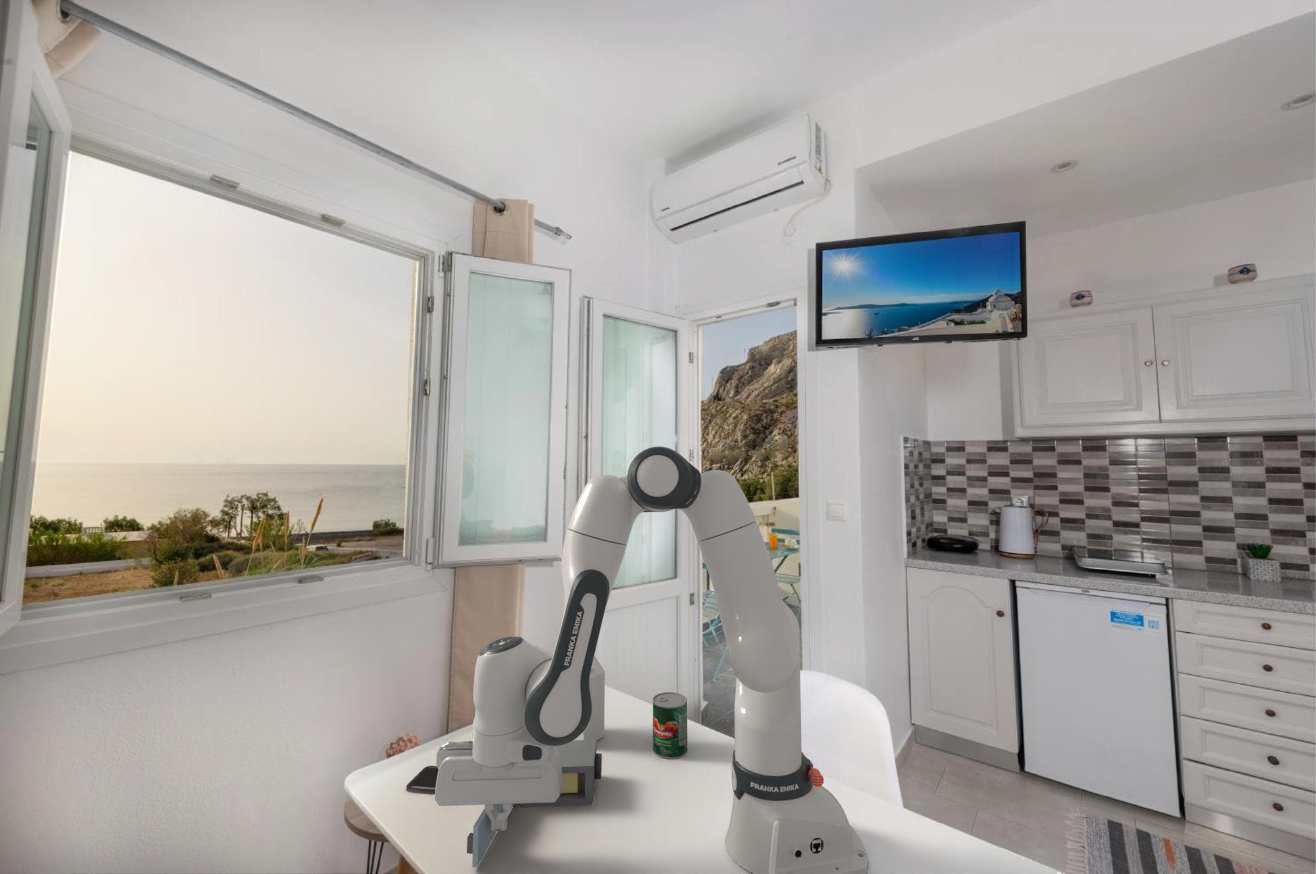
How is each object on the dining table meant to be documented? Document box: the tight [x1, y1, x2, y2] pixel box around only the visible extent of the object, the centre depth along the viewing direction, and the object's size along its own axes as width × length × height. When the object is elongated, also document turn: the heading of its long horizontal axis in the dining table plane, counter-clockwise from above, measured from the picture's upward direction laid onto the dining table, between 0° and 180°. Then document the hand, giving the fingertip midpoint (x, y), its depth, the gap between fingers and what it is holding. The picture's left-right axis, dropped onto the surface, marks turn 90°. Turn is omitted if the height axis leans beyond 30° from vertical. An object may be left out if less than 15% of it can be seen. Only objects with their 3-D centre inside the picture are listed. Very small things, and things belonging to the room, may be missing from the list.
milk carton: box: [575, 655, 606, 741], centre depth 120 cm, size 7×7×19 cm
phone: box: [405, 765, 439, 795], centre depth 102 cm, size 8×1×15 cm
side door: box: [466, 804, 505, 868], centre depth 87 cm, size 15×2×6 cm, turn 176°
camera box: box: [512, 740, 603, 809], centre depth 100 cm, size 17×10×7 cm, turn 93°
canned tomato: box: [652, 691, 689, 760], centre depth 115 cm, size 8×8×11 cm
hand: (499, 828), depth 84 cm, fingers closed
